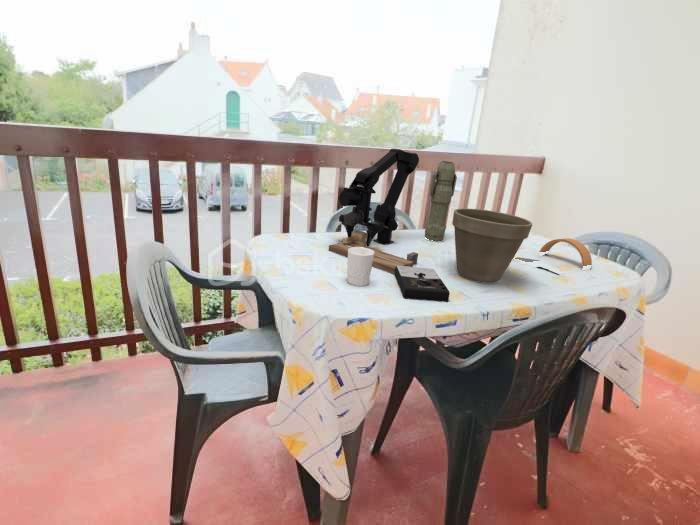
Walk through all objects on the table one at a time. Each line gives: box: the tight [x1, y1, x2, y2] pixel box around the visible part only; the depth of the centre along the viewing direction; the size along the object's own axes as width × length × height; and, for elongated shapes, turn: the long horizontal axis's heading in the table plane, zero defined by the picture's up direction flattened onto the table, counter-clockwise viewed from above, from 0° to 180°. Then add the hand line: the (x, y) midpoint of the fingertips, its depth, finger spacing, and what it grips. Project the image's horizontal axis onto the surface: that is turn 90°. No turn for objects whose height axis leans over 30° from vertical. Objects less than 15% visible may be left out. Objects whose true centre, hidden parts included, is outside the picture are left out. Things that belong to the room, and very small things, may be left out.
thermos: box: [424, 160, 458, 242], centre depth 167 cm, size 9×12×35 cm
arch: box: [538, 237, 593, 267], centre depth 157 cm, size 6×20×10 cm, turn 30°
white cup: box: [346, 247, 374, 287], centre depth 113 cm, size 8×8×10 cm
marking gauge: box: [342, 229, 367, 246], centre depth 147 cm, size 11×5×6 cm, turn 140°
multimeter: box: [393, 266, 450, 303], centre depth 115 cm, size 13×19×5 cm
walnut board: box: [327, 241, 419, 275], centre depth 138 cm, size 17×30×4 cm, turn 50°
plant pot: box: [451, 208, 533, 284], centre depth 128 cm, size 25×25×22 cm
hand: (358, 243), depth 150 cm, fingers open, 9 cm apart
